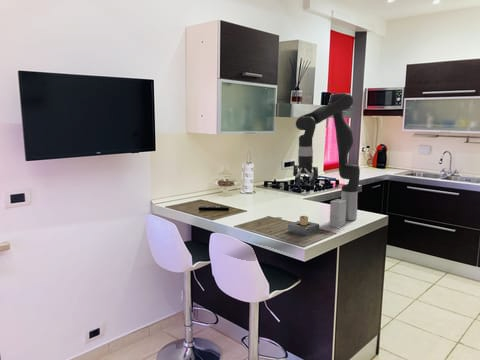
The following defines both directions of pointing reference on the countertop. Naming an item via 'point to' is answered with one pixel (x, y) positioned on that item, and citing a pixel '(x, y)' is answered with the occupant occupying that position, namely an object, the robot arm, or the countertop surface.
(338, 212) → the skincare box
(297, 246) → the countertop surface
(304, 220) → the piston
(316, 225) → the collar
